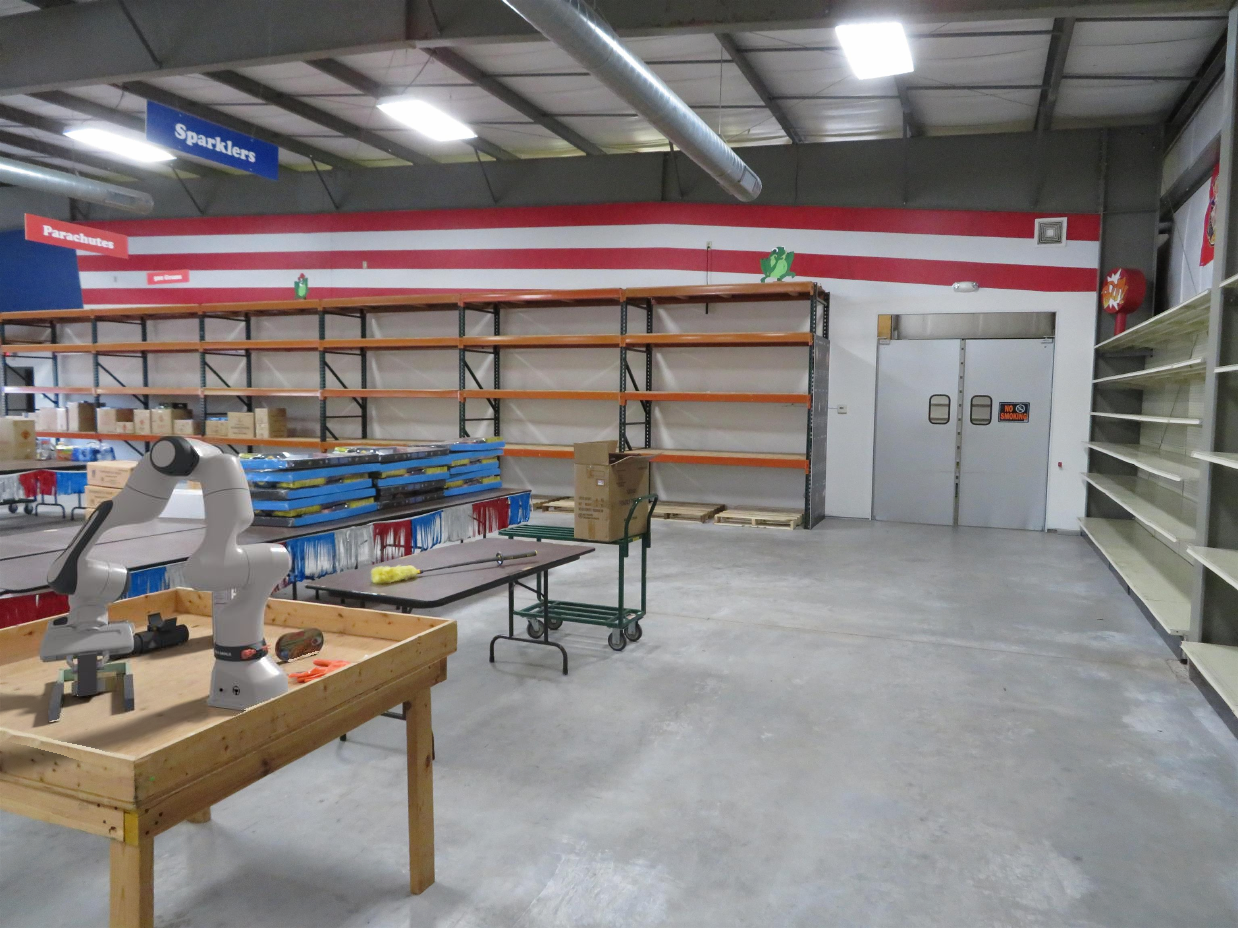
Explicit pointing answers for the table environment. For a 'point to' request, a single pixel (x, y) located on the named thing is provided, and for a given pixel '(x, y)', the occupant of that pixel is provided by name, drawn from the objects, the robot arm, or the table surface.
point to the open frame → (108, 667)
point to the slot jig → (59, 693)
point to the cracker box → (219, 605)
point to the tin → (299, 643)
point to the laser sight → (157, 636)
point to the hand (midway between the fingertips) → (87, 670)
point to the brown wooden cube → (109, 681)
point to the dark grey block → (87, 676)
